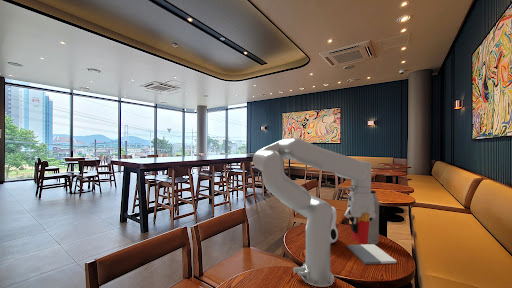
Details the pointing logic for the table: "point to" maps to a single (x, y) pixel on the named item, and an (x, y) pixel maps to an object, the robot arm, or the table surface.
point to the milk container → (332, 228)
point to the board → (371, 254)
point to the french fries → (362, 229)
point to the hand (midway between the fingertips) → (359, 231)
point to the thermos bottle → (374, 223)
